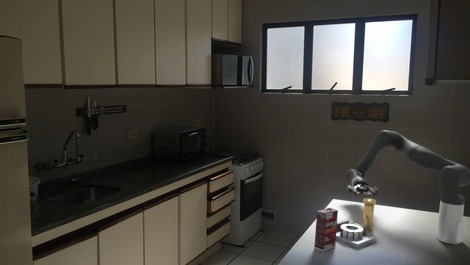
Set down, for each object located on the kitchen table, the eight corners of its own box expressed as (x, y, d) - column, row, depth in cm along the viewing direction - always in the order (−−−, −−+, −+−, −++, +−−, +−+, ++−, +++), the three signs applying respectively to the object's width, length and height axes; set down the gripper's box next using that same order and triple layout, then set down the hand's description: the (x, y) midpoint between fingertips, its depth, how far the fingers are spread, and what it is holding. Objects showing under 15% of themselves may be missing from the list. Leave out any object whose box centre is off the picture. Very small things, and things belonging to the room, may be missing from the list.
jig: (376, 241, 174) (376, 230, 173) (357, 248, 166) (358, 237, 166) (345, 230, 187) (346, 219, 186) (327, 236, 179) (327, 225, 178)
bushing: (376, 229, 188) (378, 200, 186) (369, 232, 185) (371, 202, 183) (366, 226, 192) (367, 197, 190) (358, 228, 189) (360, 199, 187)
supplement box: (323, 252, 162) (325, 214, 160) (313, 248, 165) (315, 211, 163) (336, 247, 167) (338, 210, 165) (326, 243, 171) (328, 207, 169)
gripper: (346, 177, 214) (350, 185, 198) (374, 179, 212) (380, 187, 196) (345, 191, 215) (349, 200, 199) (373, 192, 213) (379, 202, 197)
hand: (364, 194), depth 198 cm, fingers open, 8 cm apart
